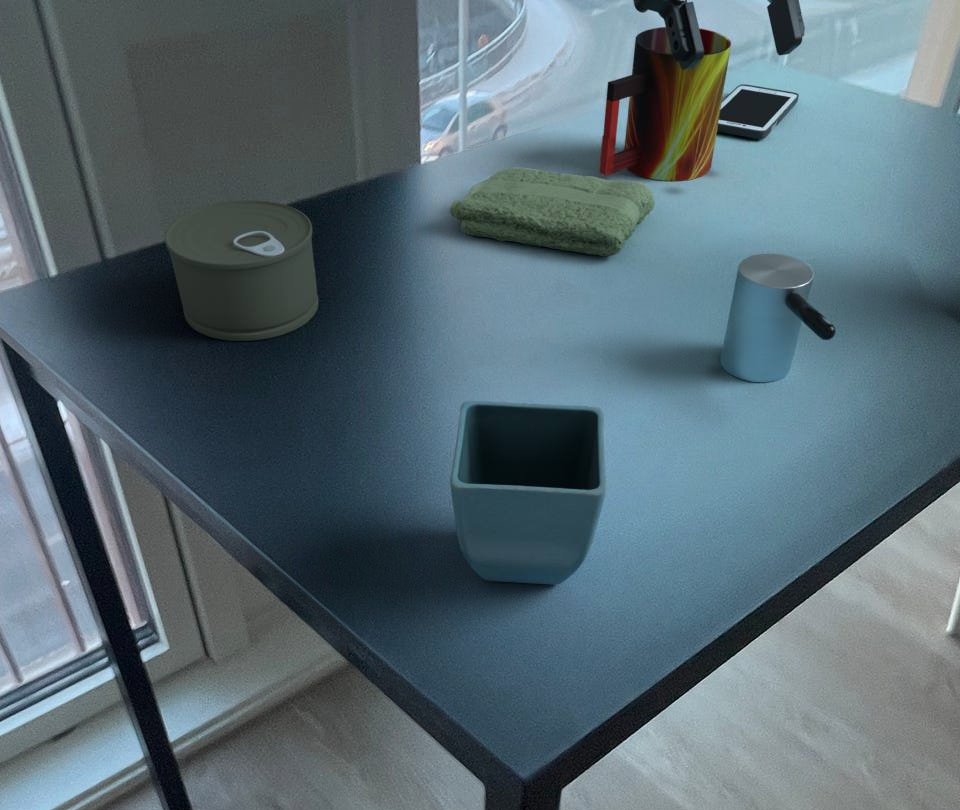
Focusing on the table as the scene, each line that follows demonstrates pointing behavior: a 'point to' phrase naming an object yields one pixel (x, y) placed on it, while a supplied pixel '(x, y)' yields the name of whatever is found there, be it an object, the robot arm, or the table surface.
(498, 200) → the washcloth
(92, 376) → the table surface
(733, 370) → the metal cylinder with handle
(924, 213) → the table surface
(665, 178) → the mug
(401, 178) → the table surface
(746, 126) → the cell phone
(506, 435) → the flower pot
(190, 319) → the can
